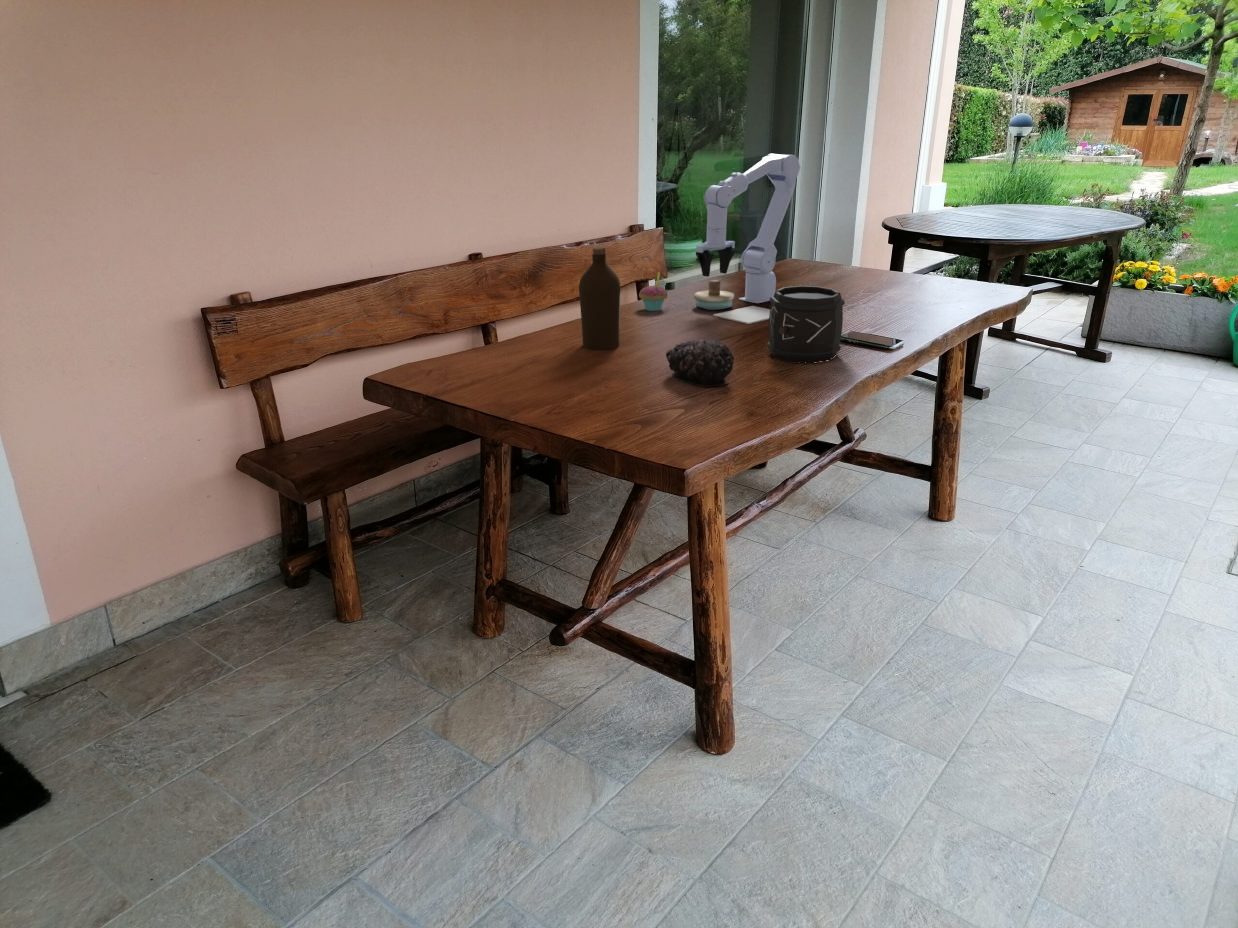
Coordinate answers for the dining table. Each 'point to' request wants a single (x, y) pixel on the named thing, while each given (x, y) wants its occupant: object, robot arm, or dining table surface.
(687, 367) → the pine cone
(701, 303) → the light blue flat disc
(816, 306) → the dark grey barrel
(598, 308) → the olive oil
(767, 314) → the mat
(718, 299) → the lid
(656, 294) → the cupcake
